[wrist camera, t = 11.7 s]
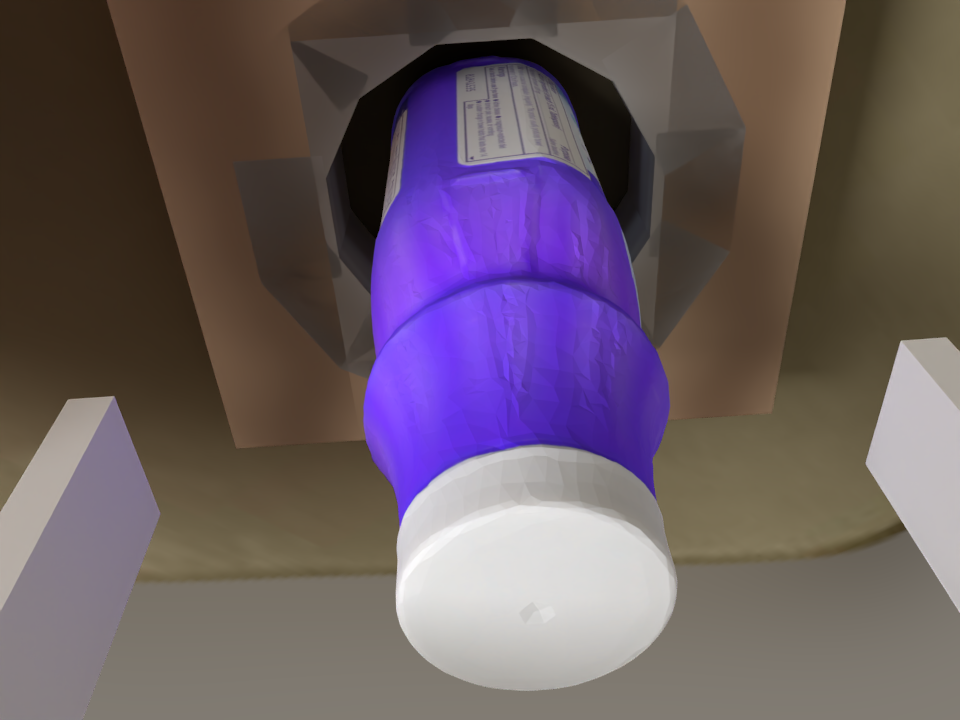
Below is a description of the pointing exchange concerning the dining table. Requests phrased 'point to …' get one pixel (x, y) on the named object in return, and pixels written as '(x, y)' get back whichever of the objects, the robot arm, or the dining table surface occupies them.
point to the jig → (350, 246)
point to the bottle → (513, 389)
